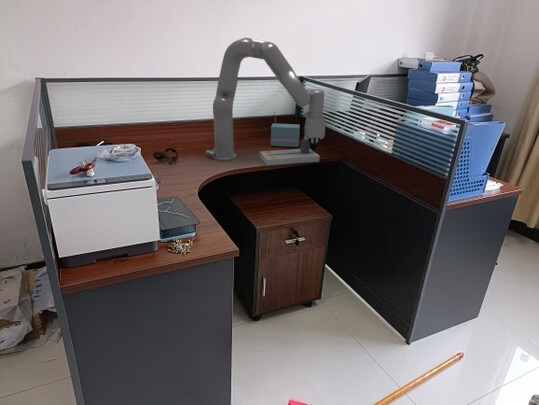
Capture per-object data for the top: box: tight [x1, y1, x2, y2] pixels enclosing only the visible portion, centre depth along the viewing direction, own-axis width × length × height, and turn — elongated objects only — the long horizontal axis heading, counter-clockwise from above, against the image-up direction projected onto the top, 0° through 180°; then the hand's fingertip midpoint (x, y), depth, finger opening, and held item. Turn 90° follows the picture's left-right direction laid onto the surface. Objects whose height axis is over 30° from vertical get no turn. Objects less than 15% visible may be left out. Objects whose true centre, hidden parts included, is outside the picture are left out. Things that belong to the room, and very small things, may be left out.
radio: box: [270, 111, 301, 149], centre depth 222 cm, size 16×9×20 cm, turn 84°
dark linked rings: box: [152, 147, 179, 165], centre depth 193 cm, size 12×10×8 cm
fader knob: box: [299, 138, 310, 153], centre depth 202 cm, size 3×5×6 cm, turn 16°
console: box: [259, 148, 320, 166], centre depth 202 cm, size 28×14×3 cm, turn 106°
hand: (313, 149), depth 204 cm, fingers closed
